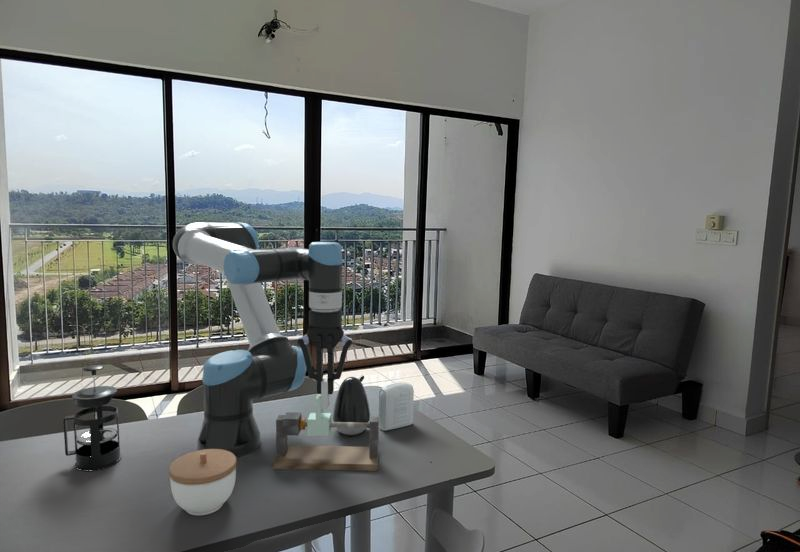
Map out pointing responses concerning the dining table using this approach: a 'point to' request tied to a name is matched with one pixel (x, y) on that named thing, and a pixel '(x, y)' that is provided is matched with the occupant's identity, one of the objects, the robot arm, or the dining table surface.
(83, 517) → the dining table surface
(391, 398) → the photo printer
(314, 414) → the pale green block
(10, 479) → the dining table surface
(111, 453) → the french press
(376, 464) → the rod stand
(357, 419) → the pump dispenser
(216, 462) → the lidded bowl
